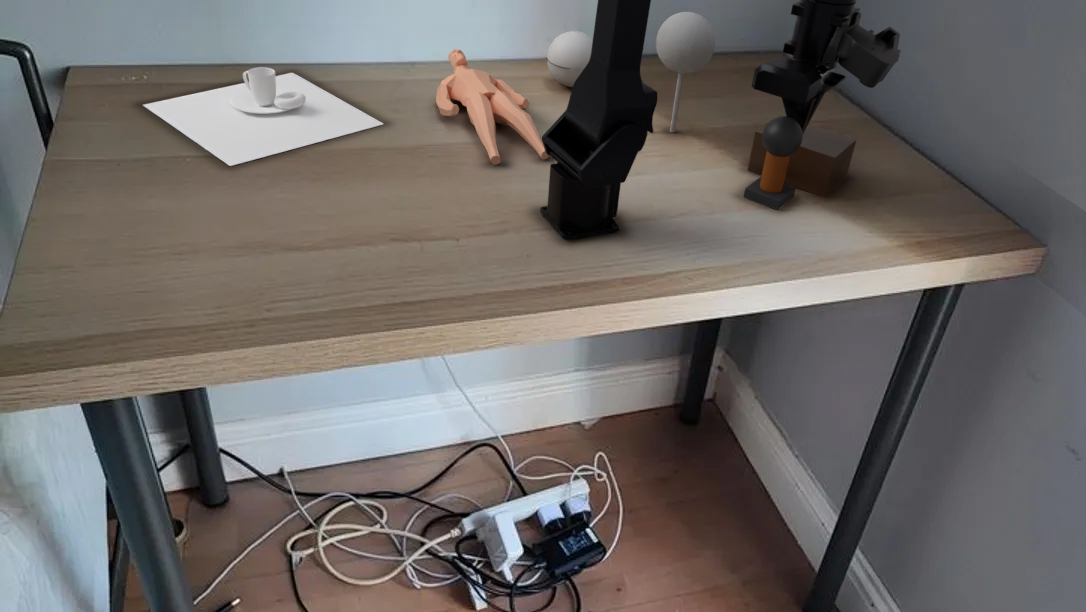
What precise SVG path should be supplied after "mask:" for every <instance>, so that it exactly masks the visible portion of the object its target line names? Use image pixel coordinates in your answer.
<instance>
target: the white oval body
mask: <svg viewBox="0 0 1086 612" xmlns="http://www.w3.org/2000/svg"><path fill="white" fill-rule="evenodd" d="M592 42H593V37H591V36H590V35H588V34H586V33H584V32H582V31H578V30H570V31H567V32H563V33H561V34H559V35H558V36H557V37H555V38H554V39H553V41H552V42H551V44H550V46H549V47H548V49H547V54H546V62H547V68H548V70H549V74H550V75H551V76H552V77H553V79H554V80H556V82H557V83H558V84H561V85H563V86H566V87H568V88H573V85H574V82H575V81H576V79H577V78H578V77H579V75H580V74H581V72H582V71H583V69H584V68H585V67H586V65H587V64H588V62H589V60H590V56H591V50H592Z"/></svg>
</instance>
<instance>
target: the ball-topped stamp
mask: <svg viewBox="0 0 1086 612" xmlns="http://www.w3.org/2000/svg"><path fill="white" fill-rule="evenodd" d="M766 124H767V125H766ZM766 124H765V125H766V126H765V128H764V130H763V133H762V142H763V145H764V147H765V149H766V150H767V153H766V158H765V163H764V167H763V172H762V175H760V177H758V178H757V179H756V180H754V181H753V182H752V183H750V184H749V185H747V186H746V187H745V188H744V193H743V198H745V199H747V200H749V201H752V202H754V203H757V204H761V205H764V206H766V207H769V208H772V209H775V210H777V211H779V210H781V208H782V207H784V206H785V205H786V204H788V202H791V200H792V199H793V198H795V194H796V190H797V187H794V186H791V185H788V184H785V183H784V180H785V176H786V172H787V167H788V163H789V159H790V155H792V154H794V153H795V152H796V151H797V150H798V149H799V147H800V145H801V143H802V139H803V133H802V129H801V127H800V125H799V124H798V123H797V122H796V121H795V120H794V119H792V118H790V117H787V116H786V115H785V116H783V115H781V117H778V116H776V117H773V118H772V119H771V120H769V121H768V122H767V123H766Z"/></svg>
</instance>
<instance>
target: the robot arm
mask: <svg viewBox="0 0 1086 612" xmlns="http://www.w3.org/2000/svg"><path fill="white" fill-rule="evenodd" d="M651 2H652V0H597V6H596V12H595V18H594V19H595V21H594V27H593V37H592V39H593V42H592V50H591V56H590V60H589V62H588V64H587V65H586V67H585V68H584V69H583V71H582V72H581V74H580V75H579V77H578V78H577V79H576V81H575V82H574V85H573V87H572V89H571V92H570V96H569V100H568V103H567V107H566V110H564V112H563V113H562V114H561V115H560V116H559V117H558V118H557V119H556V120H555V122H554V123H553V124H552V125H551V126H550V127H549V128H548V129H547V130H546V131H545V132H544V133H543V134H542V136H541V141H542V142H543V145H544V149H545V152H546V154H547V155H549V157H551V158H552V159H553V160H554V161H555V162H556V163H551V164H550V166H549V181H548V195H547V205H543V206H541V207H539V208H540V210H539V213H540V214H541V215H542V216H543V217H544V219H545V220H546V221H547V222H548V223H549V224H550V226H552V228H553V229H554V230H555V231H556V232H557V233H558V234H559V235H560V237H561V238H562V239H564V240H575V239H581V238H585V237H586V238H587V237H592V236H593V237H594V236H599V235H603V234H610V233H616V232H619V231H620V229H621V225H620V224H619V223H618V222H617V221H616V220H615V218H617V216H618V209H619V201H620V192H621V185H622V184H623V183H625V182H626V180H627V178H628V176H629V174H630V171H631V169H632V167H633V165H634V162H635V160H636V158H637V155H638V153H639V152H641V151H642V150H643V148H644V147H645V144H646V140H647V139H648V133H650V134H652V133H654V126H653V118H654V113H655V111H656V107H657V104H658V91H656V90H655V89H653V88H652V87H651V86H649V85H648V84H646V83H645V82H643V77H642V74H641V64H642V59H643V52H644V47H645V41H646V35H647V27H648V23H649V16H650V9H651V5H652V3H651ZM856 4H857V0H799V1H797V2H795V3H793V4H792V5H791V11H790V15H792V16H796V17H795V22H794V27H793V31H792V36H791V39H790V40H788V41H785V42H784V44H783V48H782V53H783V54H786V55H790V56H793V57H792V58H793V59H791V58H788V57H786V56H781V55H776V56H774V57H772V58H771V59H769V60H767V61H765V62H763V63H762V64H760V65H759V66H757V67H756V68H754V70H753V76H752V81H751V88H752V89H754V90H756V91H759V92H762V93H765V94H769V95H771V96H775V97H778V98H780V99H781V101H782V105H783V108H784V112H785V117H790V118H792V119H794V120H795V121H796V122H797V123H798V124H799V125H800V127H801V129H802V133H804V131H805V130H806V128H807V126H808V124H809V125H810V122H811V120H812V118H813V116H814V115H815V113H816V111H817V109H818V107H819V105H820V103H821V101H822V99H823V98H824V96H825V94H826V93H827V92H829V91H830V90H831V89H832V88H834V87H835V86H837V85H838V84H841V83H842V82H843V81H844V80H845V79H846V76H845V75H844V74H841V73H838V72H836V67H837V64H839V65H840V67H842V68H843V69H844V70H846V71H847V72H849V73H850V74H851V75H853V76H854V77H855V78H857V79H858V81H859V83H860V84H862V85H863V86H865V87H867V88H869V89H874V88H875V87H876V86H877V85H878V84H879V83H881V82H883V81H884V80H885V78H886V76H887V75H888V74H889V72H890V71H891V70H892V68H893V67H894V66H895V64H896V63H898V61H899V60H900V59H899V58H900V57H901V52H902V50H900V48H899V44H900V36H901V33H900V32H898V31H897V30H896V29H894V28H893V27H891V26H888V27H886V28H884V29H882V30H881V31H879V32H877V33H876V34H874V33H875V31H874V30H873V29H869V30H867V29H866V28H864V27H862V26H861V25H860V21H861V17H862V12H860V10H861V8H859V7H856Z"/></svg>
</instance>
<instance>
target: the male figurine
mask: <svg viewBox="0 0 1086 612" xmlns="http://www.w3.org/2000/svg"><path fill="white" fill-rule="evenodd" d="M447 59H448V62H449V63H450V65H451V66H452V69H453V72H454V73H451V75H449V76H447V77H445V78H444V79H443V80H441V82H440V84H439V85H438V88H437V90H436V97H435V103H436V105H437V108H438V110H439V112H440V115H442V116H444V117H454V116H456V115H458V114H459V111H460V108H459V106H458V104H455V103H453V102H452V101H453V100H455V101H457V102H459V103H461V104H462V106H464V107H465V108H466V111H467V115H468V118H469V121H470V124H472V125H473V126H474V128H475V130H476V134H477V136H478V138H479V140H480V142H481V144H482V145H483V147H484V148H485V150H486V152H487V155H488V157H489V160H490V163H491V165H495V166H497V165H499V164H500V163H501V161H502V160H501V155H500V154H499V150H498V144H497V138H496V123H497V124H500V125H502V126H506V125H508V126H509V127H511V128H512V129H513V130H514V131H515V132H517V134H518V135H520V136H521V137H522V138H523V139H524V140H525V142H527V143H528V144H529V146H531V147H532V149H534V151H535V152H536V153H537V154H538V156H539V157H540V158H541V159H542V160H547V159H548V158H549V157H550V156H549V155H547V154H546V152H545V149H544V145H543V142H542V138H541V136H540V134H539V132H538V129H537V127H536V125H535V123H534V121H533V119H532V117H531V114H529V113H528V112H526V111H524V110H527V109H528V108H529V105H530V101H529V100H528V98H525V97H523V96H522V95H521V94H520V93H518V92H516V91H515V90H514V89H513V88H512V87H511V86H509V85H508V84H507V83H505V81H503V80H502V79H498V78H494V77H493V76H492V75H491V74H489V73H488V72H487V71H483V70H480V69H477V68H469V64H468V61H467V57H466V54H464V52H463V51H462V50H461V49H459V48H455V49H453V50H451V51H450V52H449V53H448V57H447Z"/></svg>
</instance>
